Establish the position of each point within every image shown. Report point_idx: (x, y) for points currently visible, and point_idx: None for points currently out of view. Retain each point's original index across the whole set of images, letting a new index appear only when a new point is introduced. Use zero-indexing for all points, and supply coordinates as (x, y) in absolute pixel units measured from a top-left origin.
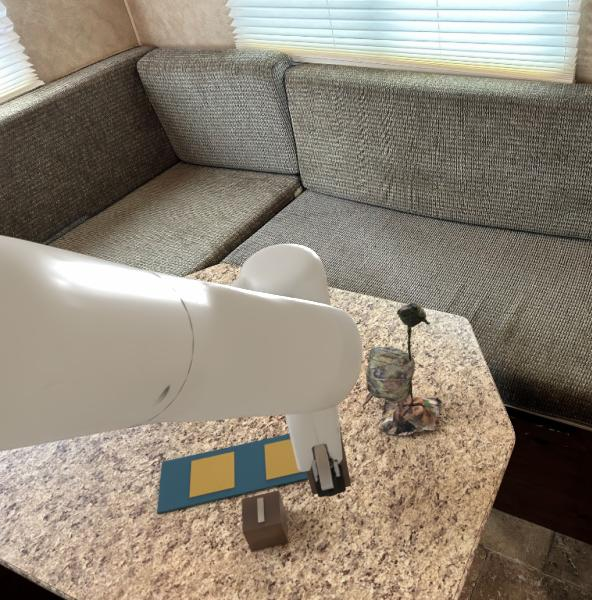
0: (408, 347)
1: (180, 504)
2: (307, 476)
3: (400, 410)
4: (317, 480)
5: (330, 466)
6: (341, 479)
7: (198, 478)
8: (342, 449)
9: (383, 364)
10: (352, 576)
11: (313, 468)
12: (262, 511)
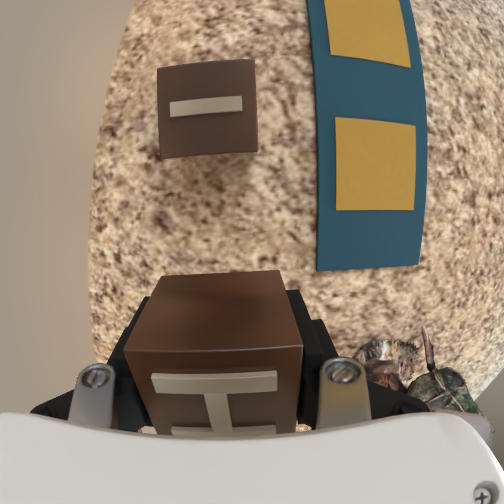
0: None
1: None
2: (136, 325)
3: (384, 382)
4: (32, 412)
5: (130, 426)
6: None
7: (361, 1)
8: None
9: None
10: (110, 266)
11: (71, 418)
12: (198, 110)
